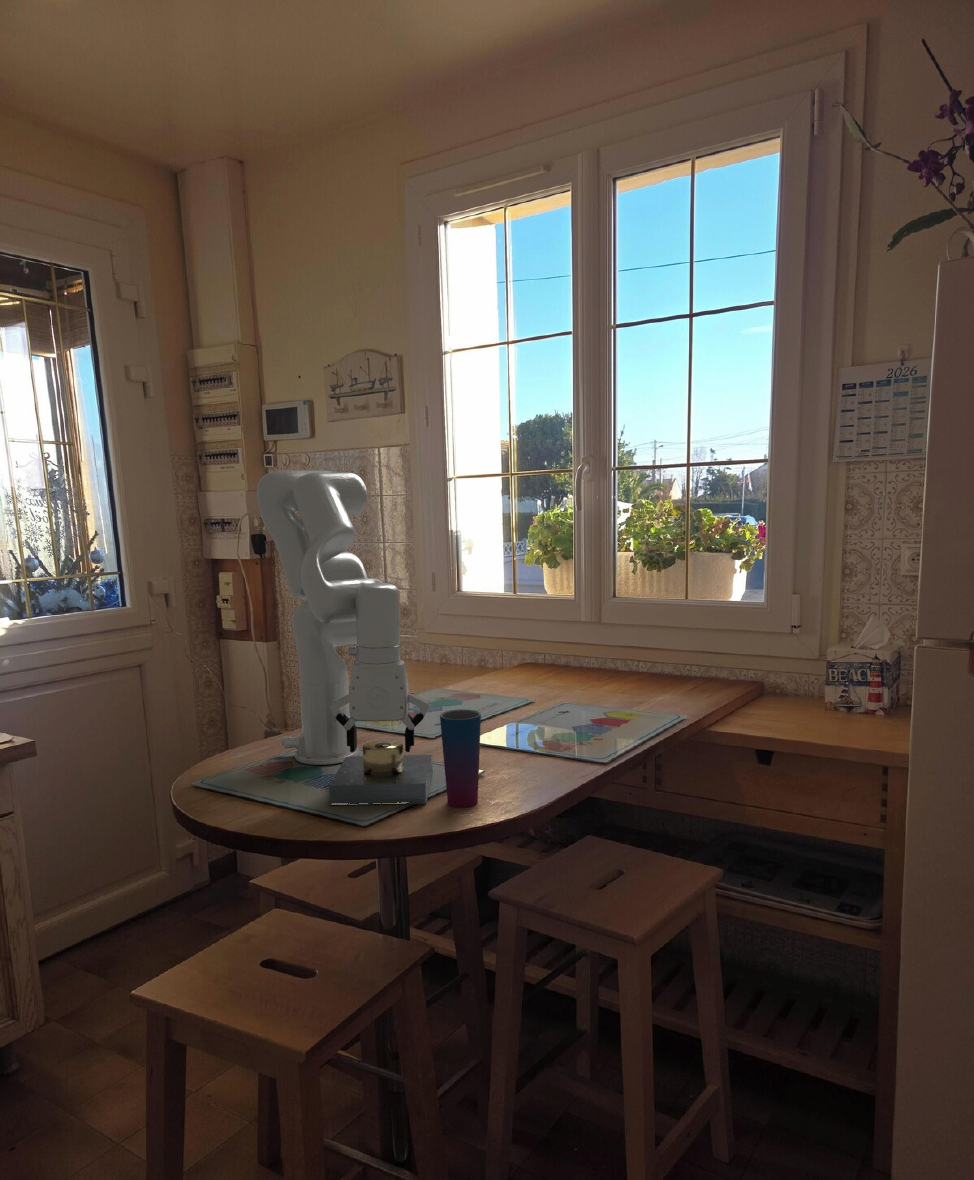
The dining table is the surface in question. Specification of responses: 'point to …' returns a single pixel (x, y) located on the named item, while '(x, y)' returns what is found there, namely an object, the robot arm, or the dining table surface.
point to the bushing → (383, 757)
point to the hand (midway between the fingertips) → (380, 749)
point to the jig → (382, 782)
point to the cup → (461, 755)
